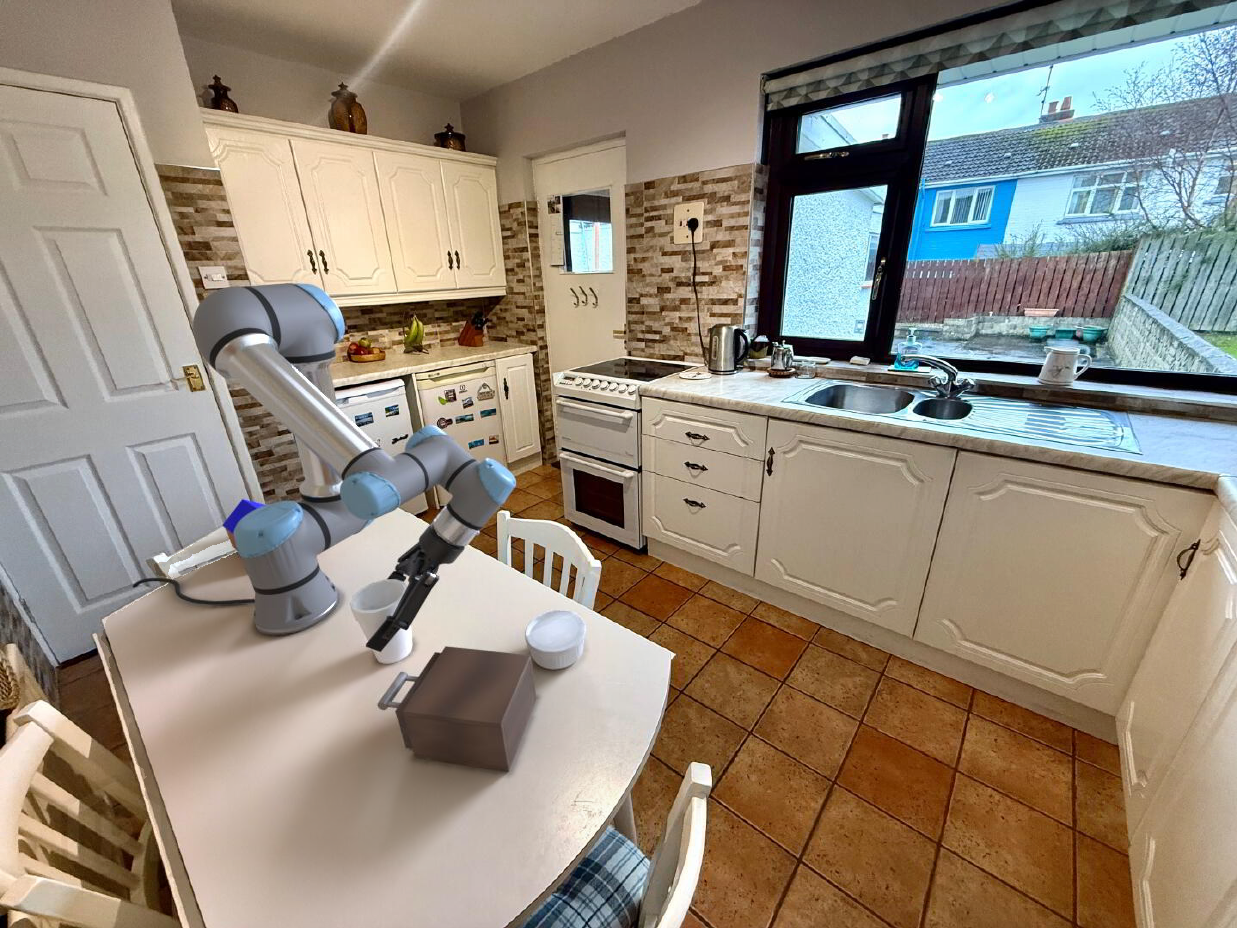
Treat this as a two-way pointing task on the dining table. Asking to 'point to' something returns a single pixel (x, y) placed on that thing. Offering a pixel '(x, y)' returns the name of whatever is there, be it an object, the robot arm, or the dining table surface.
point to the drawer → (395, 688)
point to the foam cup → (382, 616)
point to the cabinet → (472, 708)
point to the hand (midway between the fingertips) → (376, 622)
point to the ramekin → (556, 638)
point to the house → (239, 517)
